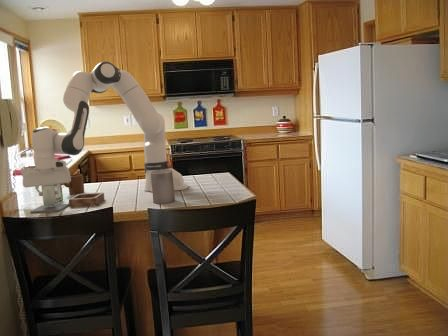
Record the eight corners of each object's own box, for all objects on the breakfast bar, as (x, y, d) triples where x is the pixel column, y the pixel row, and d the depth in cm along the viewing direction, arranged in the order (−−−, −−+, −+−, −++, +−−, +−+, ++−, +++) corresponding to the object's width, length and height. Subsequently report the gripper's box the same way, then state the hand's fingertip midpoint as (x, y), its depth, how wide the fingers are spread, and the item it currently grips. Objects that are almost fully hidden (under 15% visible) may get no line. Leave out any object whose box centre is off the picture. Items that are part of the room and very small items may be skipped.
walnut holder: (104, 199, 235) (103, 192, 234) (96, 205, 222) (95, 197, 222) (78, 201, 235) (77, 194, 235) (69, 207, 223) (68, 199, 222)
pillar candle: (162, 198, 228) (158, 166, 226) (179, 199, 223) (176, 166, 221) (148, 203, 220) (145, 170, 218) (166, 204, 215) (163, 170, 213)
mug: (71, 196, 249) (68, 178, 247) (59, 196, 252) (57, 177, 251) (87, 191, 259) (85, 174, 258) (76, 191, 263) (74, 173, 261)
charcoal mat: (69, 205, 227) (69, 203, 227) (60, 211, 215) (59, 209, 215) (41, 207, 227) (41, 205, 227) (30, 213, 215) (30, 211, 215)
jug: (56, 205, 218) (54, 186, 216) (43, 206, 216) (41, 187, 215) (56, 202, 224) (54, 183, 223) (43, 203, 222) (41, 185, 221)
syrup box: (53, 202, 236) (50, 172, 234) (45, 201, 239) (42, 172, 237) (63, 200, 241) (60, 170, 239) (55, 199, 244) (51, 170, 242)
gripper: (19, 167, 212) (23, 199, 214) (69, 162, 218) (72, 193, 220) (20, 165, 218) (24, 196, 220) (68, 160, 224) (72, 190, 226)
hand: (49, 194), depth 220 cm, fingers closed on jug, 5 cm apart
